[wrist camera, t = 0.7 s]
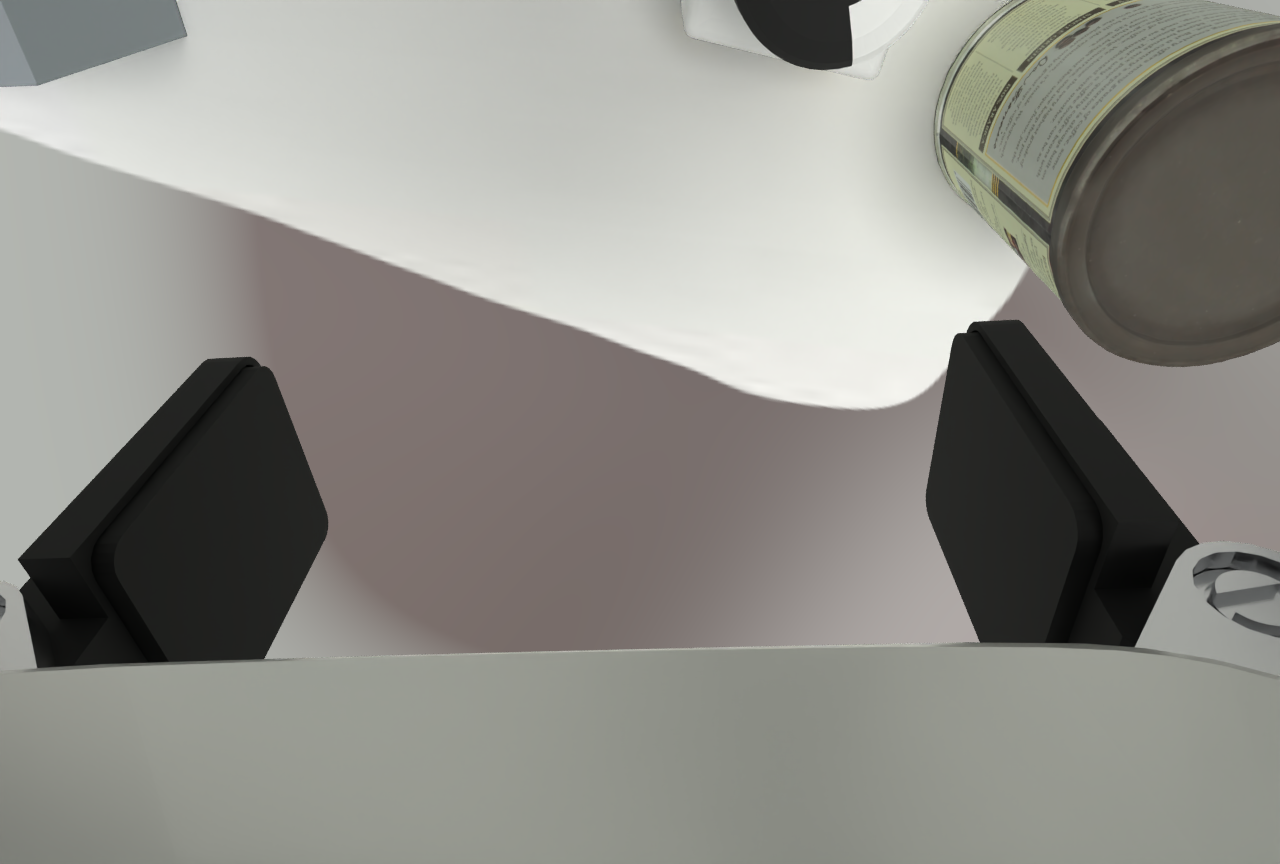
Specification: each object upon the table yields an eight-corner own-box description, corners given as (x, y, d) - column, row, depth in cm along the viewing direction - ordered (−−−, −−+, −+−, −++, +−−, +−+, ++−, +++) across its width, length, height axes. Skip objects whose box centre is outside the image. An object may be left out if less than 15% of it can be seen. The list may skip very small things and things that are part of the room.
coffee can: (1233, 27, 33) (1537, 108, 22) (1076, 248, 39) (1251, 406, 27) (1021, -71, 32) (1228, -41, 20) (888, 175, 37) (990, 311, 26)
